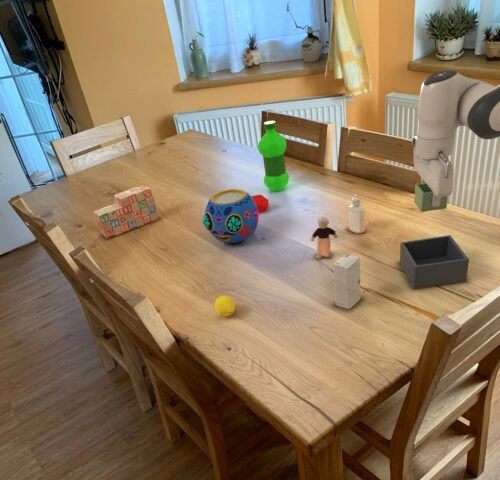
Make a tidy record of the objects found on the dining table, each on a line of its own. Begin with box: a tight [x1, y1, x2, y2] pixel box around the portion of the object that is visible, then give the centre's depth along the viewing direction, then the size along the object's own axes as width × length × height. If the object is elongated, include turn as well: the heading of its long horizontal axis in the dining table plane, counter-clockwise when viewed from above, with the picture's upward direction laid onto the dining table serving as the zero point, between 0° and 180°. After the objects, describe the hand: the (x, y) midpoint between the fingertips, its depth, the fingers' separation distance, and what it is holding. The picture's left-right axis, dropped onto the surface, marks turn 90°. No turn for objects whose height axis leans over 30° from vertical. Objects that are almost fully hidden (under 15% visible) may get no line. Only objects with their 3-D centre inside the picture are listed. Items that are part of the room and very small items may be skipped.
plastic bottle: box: [257, 120, 290, 192], centre depth 187 cm, size 10×10×25 cm
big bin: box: [399, 235, 470, 290], centre depth 132 cm, size 13×13×7 cm
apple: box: [250, 194, 270, 214], centre depth 179 cm, size 7×7×8 cm
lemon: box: [213, 295, 236, 317], centre depth 131 cm, size 7×5×5 cm
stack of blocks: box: [93, 184, 160, 239], centre depth 183 cm, size 21×6×12 cm, turn 123°
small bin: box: [413, 182, 449, 213], centre depth 129 cm, size 6×6×5 cm
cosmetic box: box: [332, 253, 362, 310], centre depth 125 cm, size 6×4×12 cm
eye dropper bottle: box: [347, 193, 366, 234], centre depth 154 cm, size 4×6×12 cm
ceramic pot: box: [202, 188, 260, 244], centre depth 162 cm, size 18×18×15 cm
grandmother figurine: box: [310, 216, 338, 259], centre depth 145 cm, size 8×4×13 cm, turn 99°
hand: (430, 199), depth 129 cm, fingers closed on small bin, 6 cm apart
